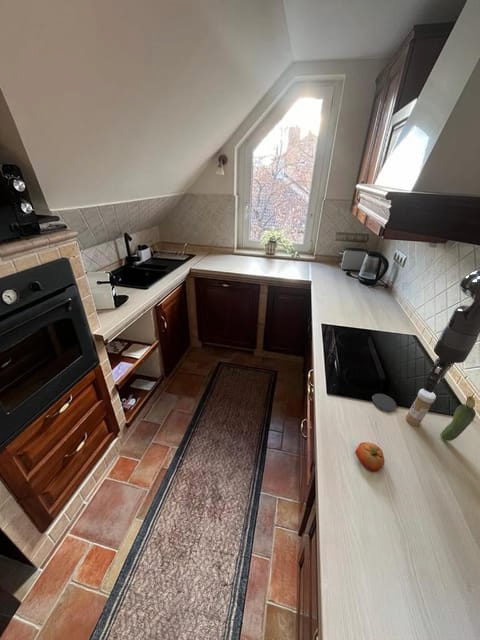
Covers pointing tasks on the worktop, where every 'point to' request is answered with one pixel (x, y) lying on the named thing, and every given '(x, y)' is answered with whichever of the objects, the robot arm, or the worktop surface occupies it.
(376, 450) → the tomato
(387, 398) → the slate coaster
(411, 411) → the sprinkles bottle
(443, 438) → the vegetable
